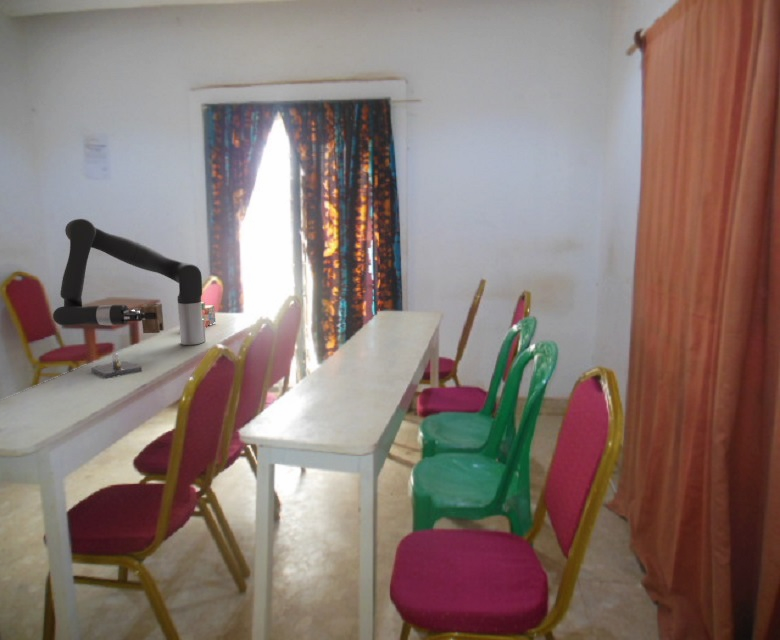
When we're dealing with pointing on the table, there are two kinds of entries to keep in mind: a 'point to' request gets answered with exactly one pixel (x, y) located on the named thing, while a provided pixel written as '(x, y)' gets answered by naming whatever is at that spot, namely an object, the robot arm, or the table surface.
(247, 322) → the table surface
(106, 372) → the base plate
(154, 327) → the sleeve
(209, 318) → the stack of blocks
